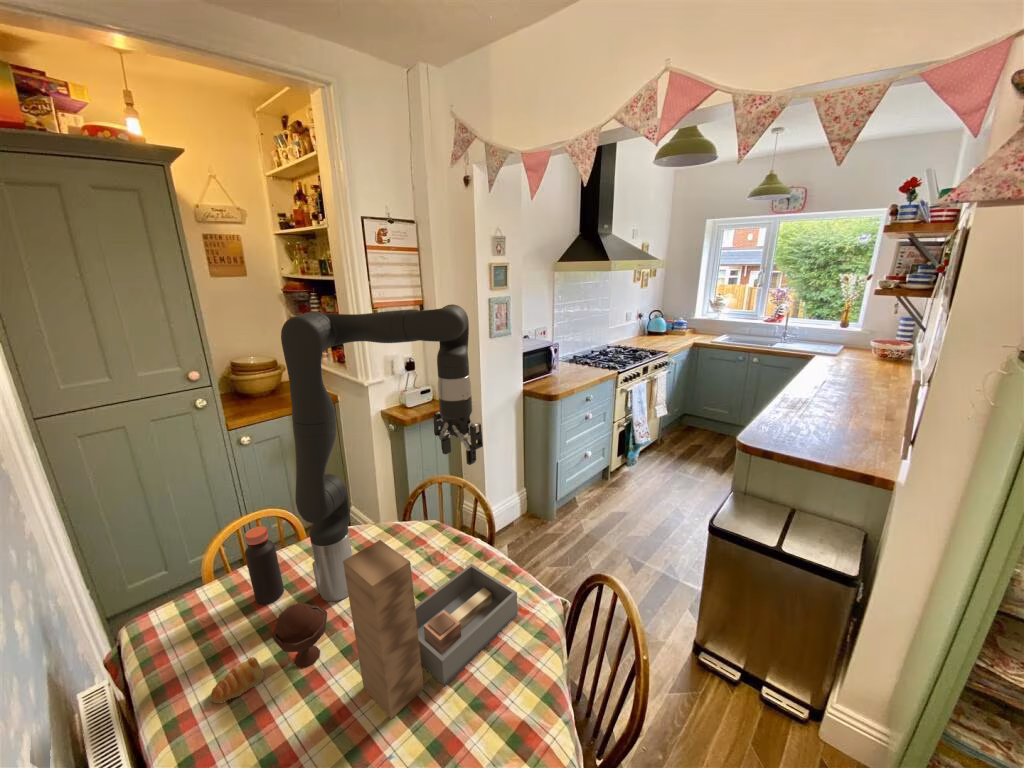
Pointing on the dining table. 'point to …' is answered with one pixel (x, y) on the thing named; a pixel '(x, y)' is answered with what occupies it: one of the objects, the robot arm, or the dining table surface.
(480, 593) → the catapult arm
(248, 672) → the pastry
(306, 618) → the ice cream bowl
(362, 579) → the tower
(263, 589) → the bottle
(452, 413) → the robot arm
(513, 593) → the bin
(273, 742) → the dining table surface
